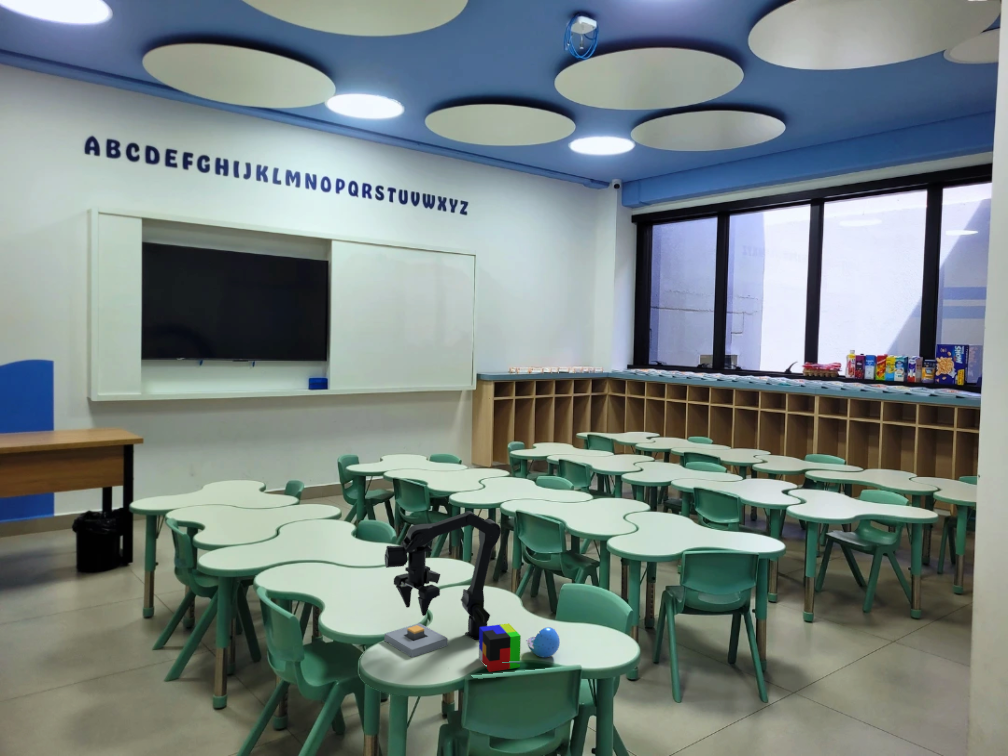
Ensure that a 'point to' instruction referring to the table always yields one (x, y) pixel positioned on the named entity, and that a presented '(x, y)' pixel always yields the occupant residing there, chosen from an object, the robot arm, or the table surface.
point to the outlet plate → (417, 647)
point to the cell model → (544, 643)
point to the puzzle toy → (499, 646)
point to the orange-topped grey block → (415, 633)
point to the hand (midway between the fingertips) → (415, 611)
